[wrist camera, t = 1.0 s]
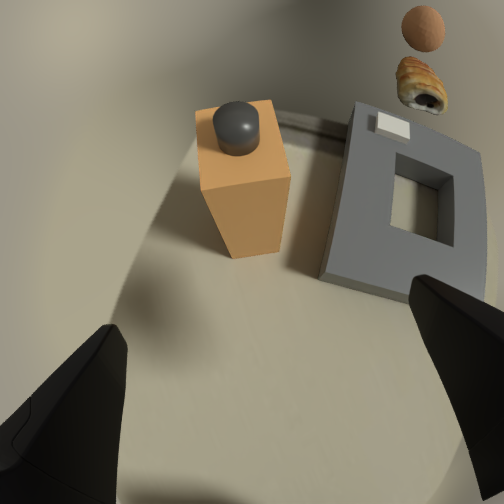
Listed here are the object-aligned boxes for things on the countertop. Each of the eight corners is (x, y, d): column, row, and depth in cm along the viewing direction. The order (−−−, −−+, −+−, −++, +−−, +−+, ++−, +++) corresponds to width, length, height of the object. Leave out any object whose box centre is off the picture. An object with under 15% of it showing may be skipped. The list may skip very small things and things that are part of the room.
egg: (431, 67, 28) (451, 26, 20) (391, 44, 29) (405, 1, 21) (437, 51, 29) (454, 15, 21) (401, 31, 31) (414, -7, 23)
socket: (461, 317, 20) (488, 314, 16) (317, 279, 22) (327, 269, 18) (466, 166, 24) (483, 148, 20) (348, 121, 25) (357, 95, 22)
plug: (279, 251, 22) (293, 156, 10) (232, 259, 22) (192, 171, 10) (269, 199, 24) (271, 77, 11) (225, 206, 24) (188, 89, 11)
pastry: (387, 59, 29) (395, 39, 25) (431, 75, 28) (441, 57, 24) (396, 106, 26) (407, 83, 23) (445, 123, 26) (460, 104, 22)
